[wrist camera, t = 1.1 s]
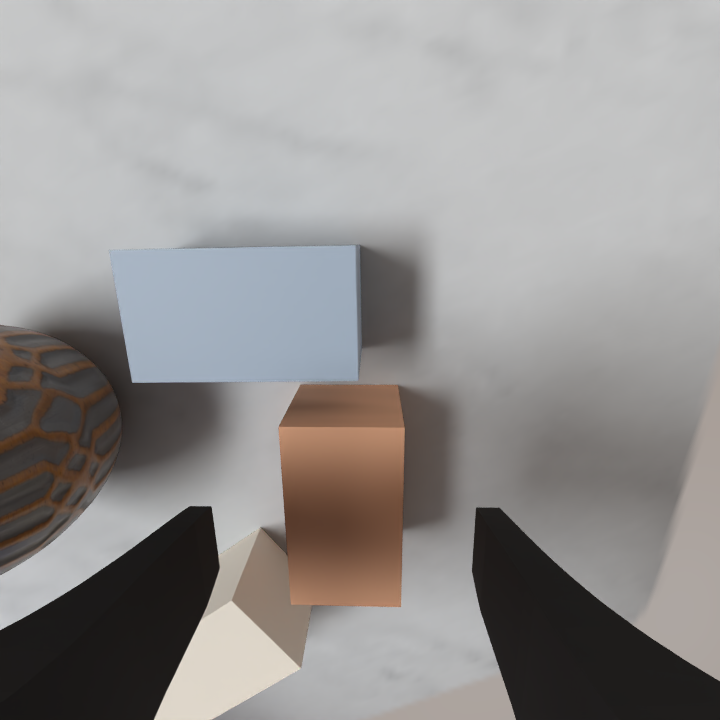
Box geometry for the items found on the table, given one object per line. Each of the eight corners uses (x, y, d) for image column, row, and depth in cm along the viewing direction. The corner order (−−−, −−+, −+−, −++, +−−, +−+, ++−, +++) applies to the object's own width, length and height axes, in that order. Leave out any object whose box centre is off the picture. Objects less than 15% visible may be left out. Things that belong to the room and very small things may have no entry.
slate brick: (190, 349, 14) (132, 382, 11) (176, 248, 14) (109, 250, 10) (362, 347, 14) (358, 380, 11) (360, 244, 13) (355, 245, 10)
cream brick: (209, 647, 18) (171, 742, 15) (155, 596, 17) (101, 683, 14) (315, 581, 17) (301, 668, 14) (261, 524, 16) (231, 600, 13)
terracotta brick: (395, 529, 16) (401, 606, 13) (308, 527, 16) (290, 604, 13) (397, 383, 15) (404, 427, 11) (301, 383, 15) (278, 426, 11)
